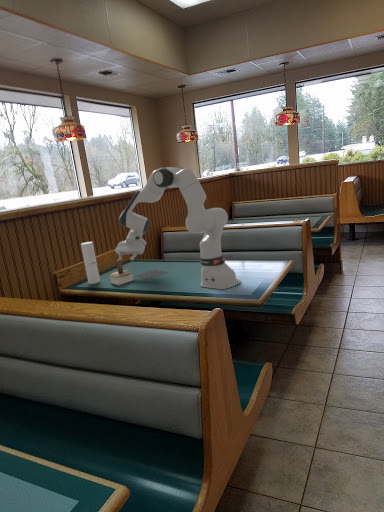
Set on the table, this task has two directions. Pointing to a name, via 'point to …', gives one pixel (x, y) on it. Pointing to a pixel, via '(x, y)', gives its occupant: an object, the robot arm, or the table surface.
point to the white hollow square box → (121, 280)
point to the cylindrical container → (90, 262)
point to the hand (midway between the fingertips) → (125, 259)
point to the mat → (150, 274)
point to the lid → (120, 271)
